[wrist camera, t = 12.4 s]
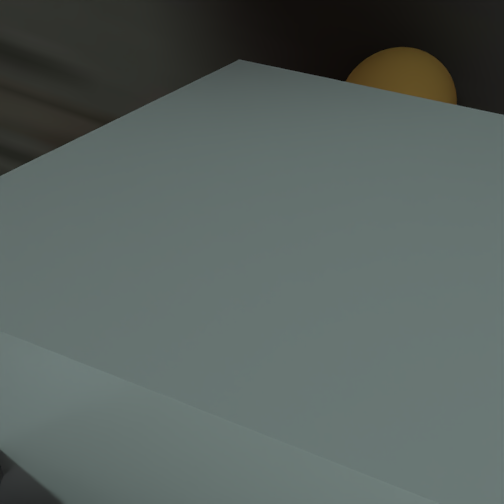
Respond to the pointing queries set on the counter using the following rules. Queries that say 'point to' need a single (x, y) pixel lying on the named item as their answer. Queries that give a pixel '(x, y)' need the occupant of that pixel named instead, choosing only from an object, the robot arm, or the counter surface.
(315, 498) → the grey rectangular block
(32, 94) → the counter surface
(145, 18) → the counter surface
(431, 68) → the ball
